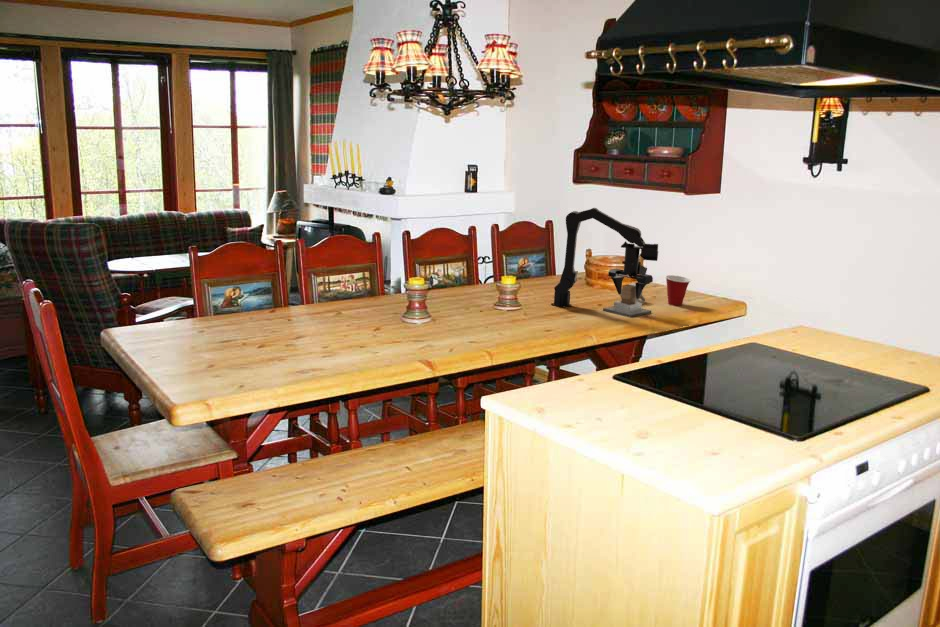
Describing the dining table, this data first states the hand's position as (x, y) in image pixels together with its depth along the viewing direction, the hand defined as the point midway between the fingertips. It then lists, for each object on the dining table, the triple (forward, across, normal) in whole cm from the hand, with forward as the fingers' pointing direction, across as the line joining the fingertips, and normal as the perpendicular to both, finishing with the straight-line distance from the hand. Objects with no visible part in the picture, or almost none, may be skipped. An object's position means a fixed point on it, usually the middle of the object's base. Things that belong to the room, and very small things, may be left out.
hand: (628, 296), depth 317 cm
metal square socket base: (+6, 0, 0) cm, 6 cm away
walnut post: (+6, 0, 0) cm, 6 cm away
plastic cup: (+7, -3, -30) cm, 31 cm away
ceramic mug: (+7, +11, -18) cm, 22 cm away
